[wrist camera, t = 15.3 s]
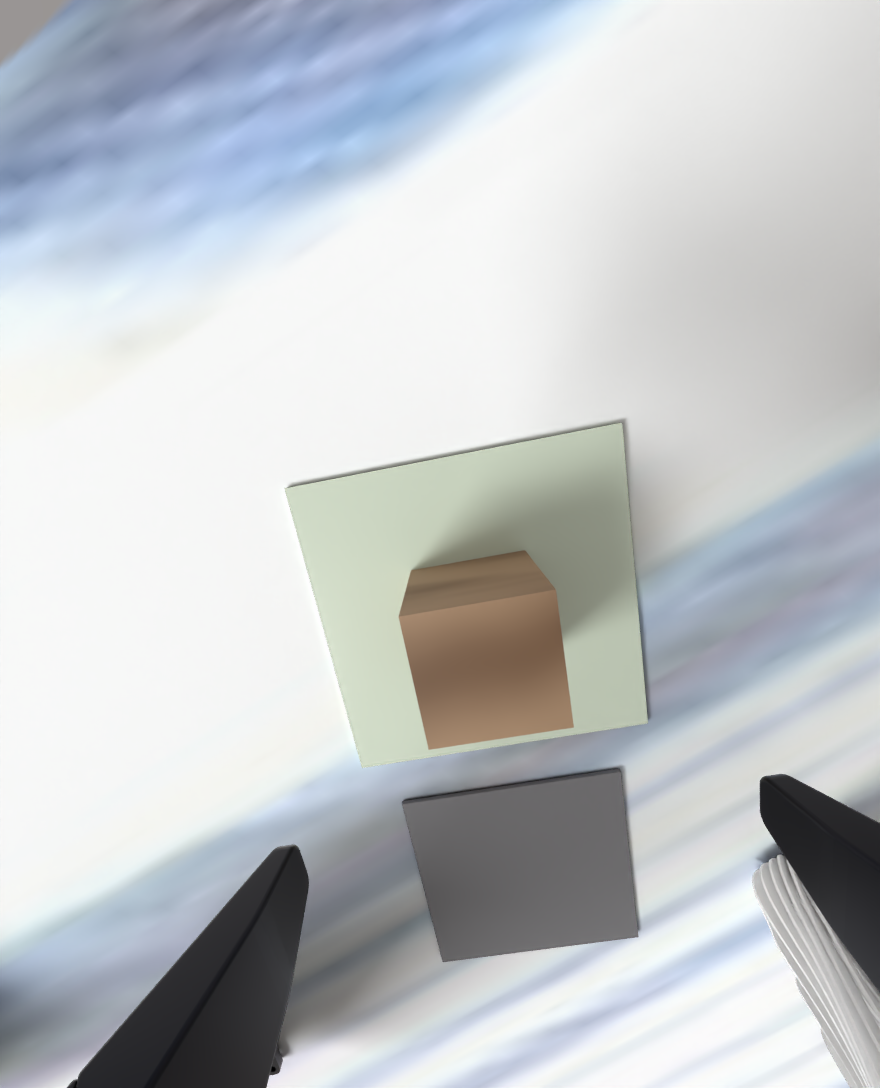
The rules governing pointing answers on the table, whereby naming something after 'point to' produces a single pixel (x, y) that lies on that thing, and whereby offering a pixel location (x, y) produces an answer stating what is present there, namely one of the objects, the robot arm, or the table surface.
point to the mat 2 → (525, 865)
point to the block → (485, 650)
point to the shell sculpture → (823, 973)
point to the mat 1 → (464, 534)
